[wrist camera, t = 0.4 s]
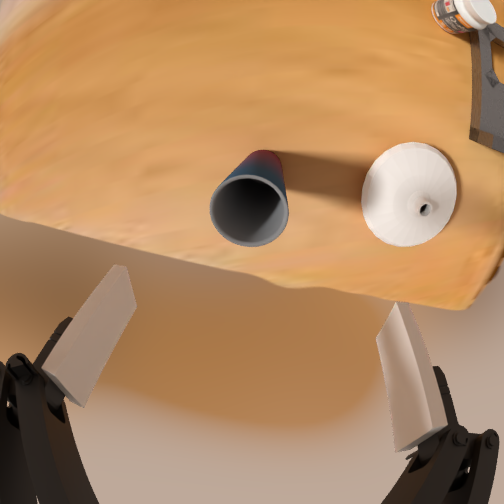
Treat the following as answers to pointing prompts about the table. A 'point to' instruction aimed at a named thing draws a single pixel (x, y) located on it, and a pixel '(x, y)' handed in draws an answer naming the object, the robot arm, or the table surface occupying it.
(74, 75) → the table surface
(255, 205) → the cup
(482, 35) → the jig
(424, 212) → the lid
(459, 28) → the pill bottle
